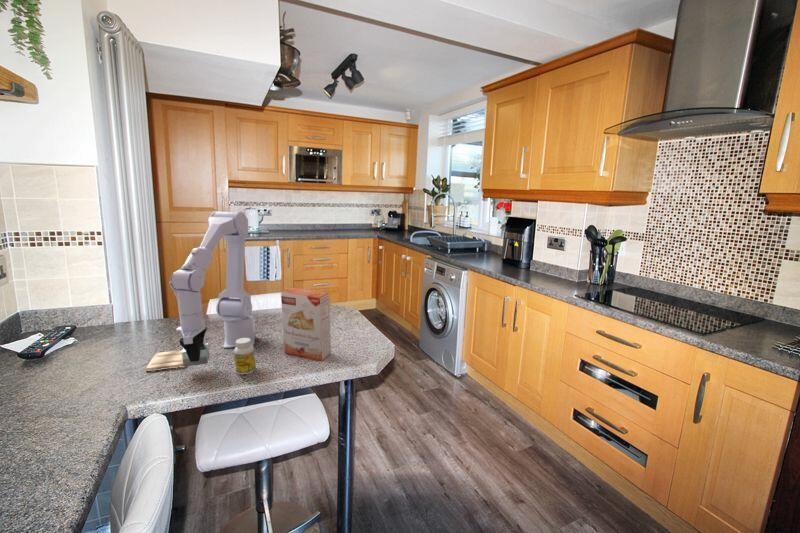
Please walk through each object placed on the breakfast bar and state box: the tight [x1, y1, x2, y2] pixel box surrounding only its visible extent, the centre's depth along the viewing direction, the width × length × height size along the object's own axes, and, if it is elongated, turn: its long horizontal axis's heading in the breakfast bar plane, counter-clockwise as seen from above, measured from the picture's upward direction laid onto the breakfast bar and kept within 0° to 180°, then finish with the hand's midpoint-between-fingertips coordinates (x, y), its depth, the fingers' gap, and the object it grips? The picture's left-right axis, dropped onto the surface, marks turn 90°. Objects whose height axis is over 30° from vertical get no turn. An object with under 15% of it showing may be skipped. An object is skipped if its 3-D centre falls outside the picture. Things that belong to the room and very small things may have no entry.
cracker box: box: [280, 287, 332, 362], centre depth 119 cm, size 14×6×21 cm, turn 70°
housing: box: [182, 342, 211, 367], centre depth 108 cm, size 6×4×4 cm
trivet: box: [145, 349, 183, 372], centre depth 114 cm, size 10×10×1 cm
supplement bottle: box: [233, 338, 257, 375], centre depth 109 cm, size 5×5×10 cm
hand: (196, 357), depth 108 cm, fingers closed on housing, 4 cm apart
